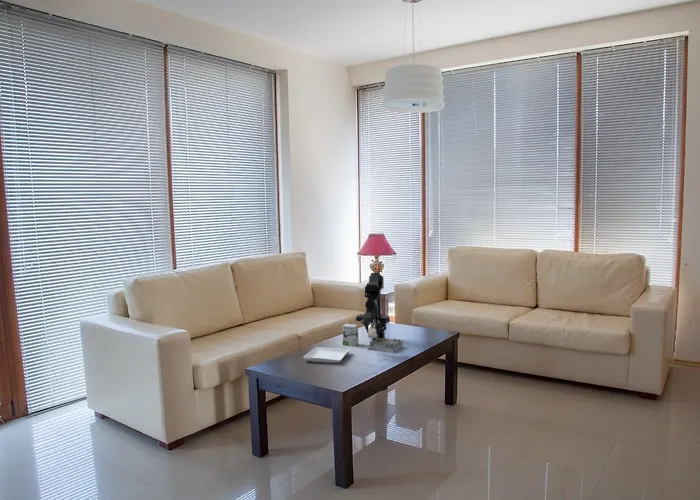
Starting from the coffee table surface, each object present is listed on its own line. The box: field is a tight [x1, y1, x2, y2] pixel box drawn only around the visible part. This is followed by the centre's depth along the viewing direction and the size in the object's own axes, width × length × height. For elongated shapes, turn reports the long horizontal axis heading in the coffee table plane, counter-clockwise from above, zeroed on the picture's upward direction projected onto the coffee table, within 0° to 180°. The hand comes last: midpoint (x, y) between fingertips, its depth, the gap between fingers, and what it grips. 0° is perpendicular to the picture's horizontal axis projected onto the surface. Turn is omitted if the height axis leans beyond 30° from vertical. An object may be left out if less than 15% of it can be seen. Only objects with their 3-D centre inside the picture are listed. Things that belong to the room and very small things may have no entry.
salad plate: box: [302, 346, 352, 364], centre depth 296 cm, size 21×21×3 cm
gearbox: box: [366, 338, 404, 354], centre depth 312 cm, size 16×14×5 cm
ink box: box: [341, 323, 359, 347], centre depth 321 cm, size 9×5×12 cm, turn 68°
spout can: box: [367, 321, 378, 339], centre depth 300 cm, size 6×6×8 cm
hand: (373, 334), depth 301 cm, fingers closed on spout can, 5 cm apart
